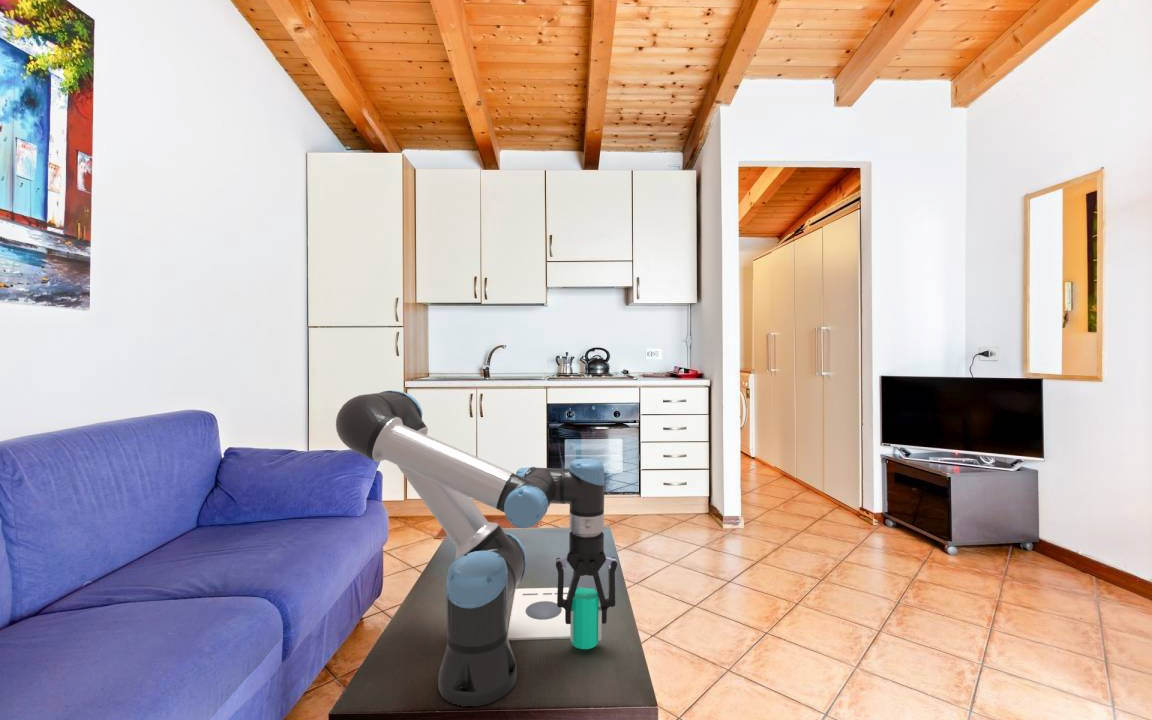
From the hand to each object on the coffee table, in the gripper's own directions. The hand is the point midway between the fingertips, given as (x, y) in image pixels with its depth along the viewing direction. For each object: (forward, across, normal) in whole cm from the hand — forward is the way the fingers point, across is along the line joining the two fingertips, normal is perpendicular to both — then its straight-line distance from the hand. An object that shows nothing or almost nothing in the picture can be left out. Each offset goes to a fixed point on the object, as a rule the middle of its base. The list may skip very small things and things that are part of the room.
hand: (585, 637), depth 109 cm
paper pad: (+3, -10, +16) cm, 19 cm away
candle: (+1, 0, 0) cm, 1 cm away
